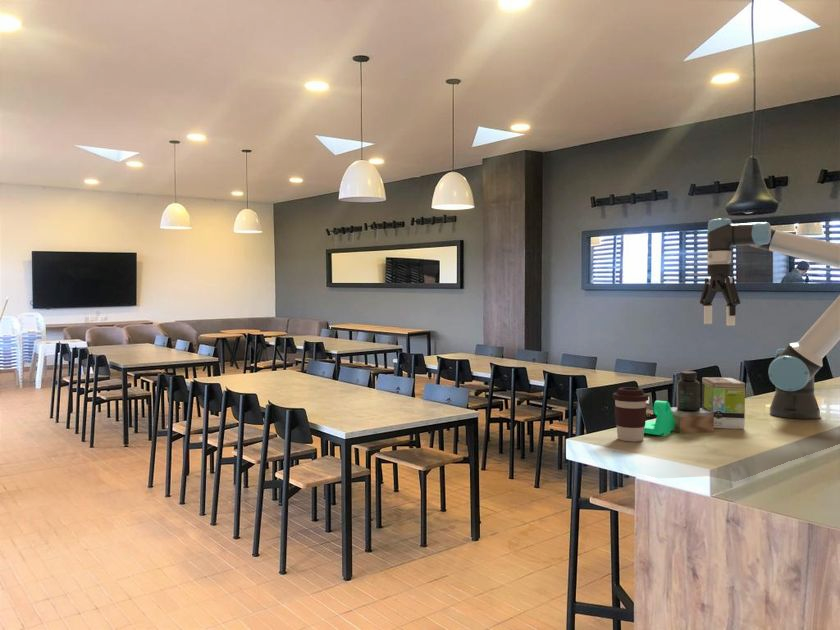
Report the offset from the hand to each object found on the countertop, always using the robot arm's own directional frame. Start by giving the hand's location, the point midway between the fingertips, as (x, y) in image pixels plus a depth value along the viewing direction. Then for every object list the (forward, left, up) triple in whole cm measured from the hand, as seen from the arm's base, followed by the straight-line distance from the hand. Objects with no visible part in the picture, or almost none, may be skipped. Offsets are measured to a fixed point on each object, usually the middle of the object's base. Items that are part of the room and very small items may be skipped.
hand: (719, 324), depth 225 cm
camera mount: (+36, +24, -32) cm, 53 cm away
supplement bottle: (+23, +20, -26) cm, 40 cm away
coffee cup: (+47, +31, -32) cm, 65 cm away
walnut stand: (+23, +20, -32) cm, 44 cm away
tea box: (+8, +15, -32) cm, 36 cm away
